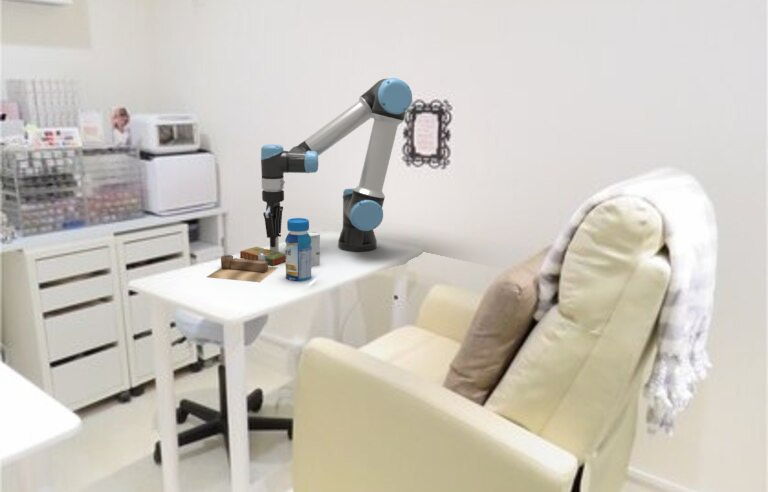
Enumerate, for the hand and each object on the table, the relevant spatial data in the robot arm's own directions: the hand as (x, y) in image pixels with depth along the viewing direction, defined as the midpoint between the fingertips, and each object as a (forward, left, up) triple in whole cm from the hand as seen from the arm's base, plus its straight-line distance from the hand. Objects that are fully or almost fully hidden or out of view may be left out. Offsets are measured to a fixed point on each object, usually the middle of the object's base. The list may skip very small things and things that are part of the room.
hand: (274, 254), depth 211 cm
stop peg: (-1, +15, 0) cm, 15 cm away
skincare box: (-15, +7, -2) cm, 17 cm away
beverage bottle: (-16, +21, -2) cm, 27 cm away
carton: (+2, +5, -2) cm, 6 cm away
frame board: (+3, +21, -2) cm, 21 cm away
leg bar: (+4, +18, 0) cm, 18 cm away
